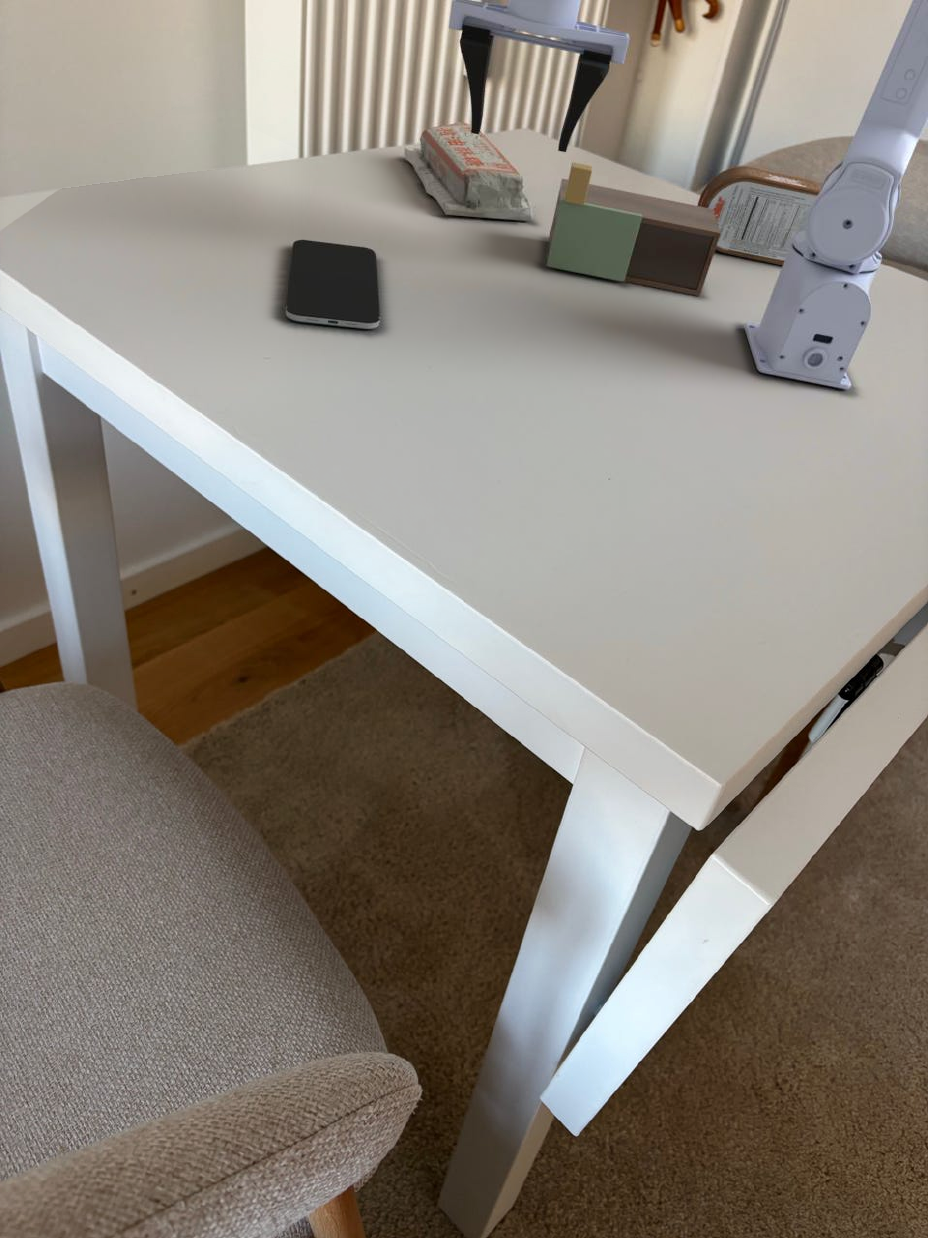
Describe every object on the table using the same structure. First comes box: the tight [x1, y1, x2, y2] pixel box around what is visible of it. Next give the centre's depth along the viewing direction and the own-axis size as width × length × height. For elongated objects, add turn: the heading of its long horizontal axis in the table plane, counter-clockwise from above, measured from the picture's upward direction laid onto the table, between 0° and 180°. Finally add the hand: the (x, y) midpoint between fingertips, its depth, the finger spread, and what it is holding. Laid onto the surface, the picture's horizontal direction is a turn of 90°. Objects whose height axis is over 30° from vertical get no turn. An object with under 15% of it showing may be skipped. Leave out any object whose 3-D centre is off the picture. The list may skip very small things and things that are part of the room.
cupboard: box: [545, 178, 721, 297], centre depth 90 cm, size 7×15×6 cm, turn 84°
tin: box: [696, 165, 823, 266], centre depth 97 cm, size 15×3×8 cm, turn 84°
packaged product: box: [404, 122, 536, 222], centre depth 100 cm, size 18×5×10 cm
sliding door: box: [546, 161, 642, 283], centre depth 85 cm, size 1×8×9 cm, turn 84°
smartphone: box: [285, 239, 381, 330], centre depth 77 cm, size 7×1×15 cm
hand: (519, 139), depth 81 cm, fingers open, 7 cm apart
